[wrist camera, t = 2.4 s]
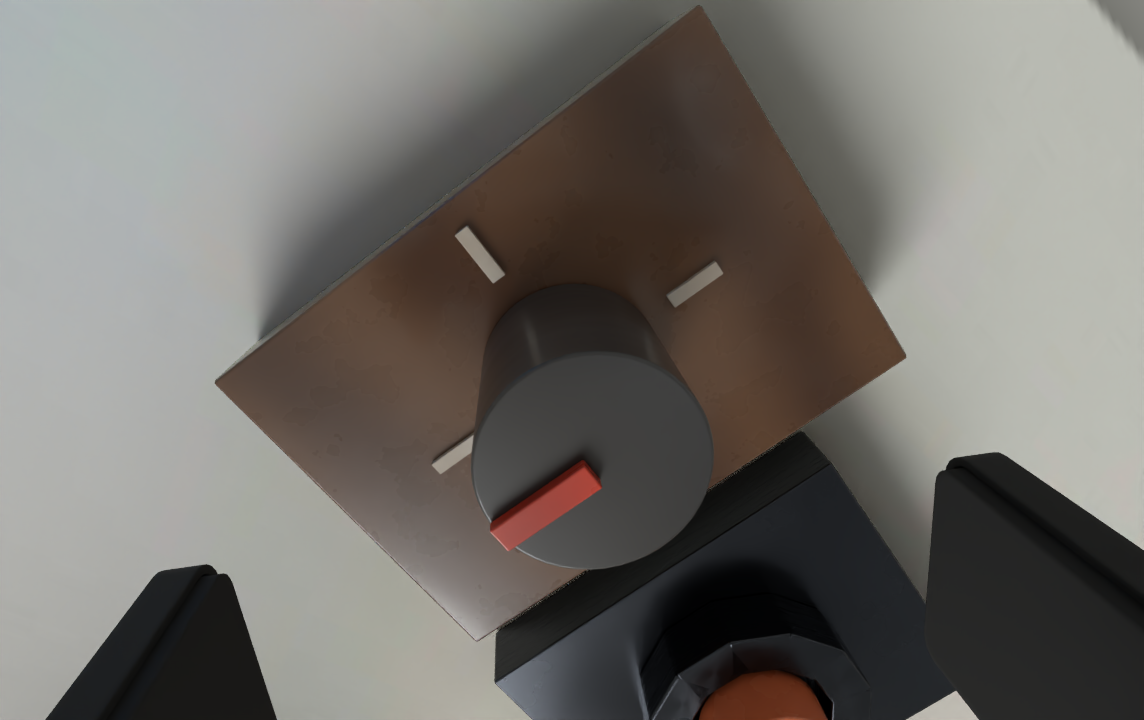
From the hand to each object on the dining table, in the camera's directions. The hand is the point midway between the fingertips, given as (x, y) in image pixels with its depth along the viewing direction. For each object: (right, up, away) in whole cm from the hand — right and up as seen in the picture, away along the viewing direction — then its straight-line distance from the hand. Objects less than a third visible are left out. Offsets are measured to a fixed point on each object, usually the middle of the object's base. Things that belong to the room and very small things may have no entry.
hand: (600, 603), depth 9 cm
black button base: (+5, -6, +15) cm, 17 cm away
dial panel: (-1, +4, +11) cm, 12 cm away
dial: (0, +3, +8) cm, 9 cm away
